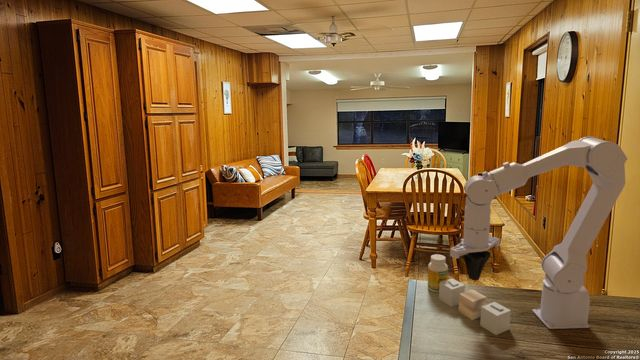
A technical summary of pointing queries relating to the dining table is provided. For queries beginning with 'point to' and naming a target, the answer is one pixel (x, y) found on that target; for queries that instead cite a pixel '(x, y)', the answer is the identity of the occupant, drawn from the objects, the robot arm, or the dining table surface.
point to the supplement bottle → (437, 272)
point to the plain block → (471, 304)
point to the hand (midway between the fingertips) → (473, 278)
